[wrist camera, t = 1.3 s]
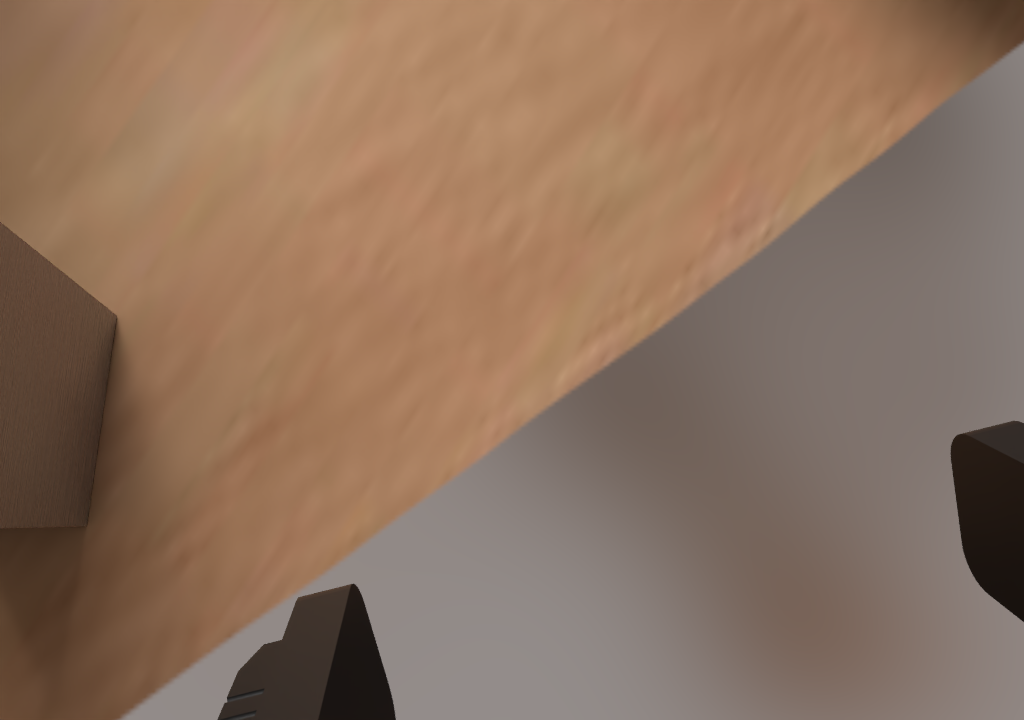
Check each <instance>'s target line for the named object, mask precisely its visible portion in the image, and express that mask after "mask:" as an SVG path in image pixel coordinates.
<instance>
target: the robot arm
mask: <svg viewBox="0 0 1024 720" xmlns="http://www.w3.org/2000/svg"><path fill="white" fill-rule="evenodd" d="M951 463H952V470H953V477H954V485H955V493H956V501H957V509H958V516H959V524H960V531H961V539H962V546H963V551H964V555H965V558H966V561H967V563H968V565H969V568H970V570H971V572H972V574H973V576H974V577H975V579H976V581H977V582H978V583H979V585H980V586H981V587H982V588H983V589H984V591H985V592H987V593H988V594H989V595H990V596H991V597H993V598H994V599H995V600H996V601H998V602H999V603H1000V604H1001V605H1003V606H1004V607H1005V608H1007V609H1008V610H1009V611H1010V612H1012V613H1013V614H1014V615H1016V616H1017V617H1018V618H1019V619H1021V620H1022V621H1023V622H1024V423H1022V422H1019V421H1011V422H1007V423H1003V424H999V425H995V426H991V427H987V428H983V429H980V430H975V431H971V432H967V433H963V434H959V435H957V436H956V437H955V438H954V440H953V442H952V445H951ZM227 701H228V702H227V703H225V704H224V706H223V708H222V710H221V713H220V715H219V717H218V720H396V718H395V711H394V704H393V700H392V695H391V691H390V688H389V684H388V681H387V677H386V674H385V670H384V667H383V664H382V661H381V657H380V654H379V650H378V647H377V644H376V640H375V637H374V634H373V631H372V627H371V624H370V620H369V617H368V614H367V611H366V607H365V604H364V601H363V598H362V595H361V593H360V591H359V589H358V587H357V586H356V585H355V584H350V585H346V586H343V587H339V588H334V589H331V590H326V591H322V592H318V593H314V594H311V595H307V596H302V597H299V598H298V599H297V601H296V603H295V606H294V609H293V611H292V614H291V617H290V620H289V622H288V625H287V628H286V631H285V634H284V636H283V639H282V640H280V641H276V642H272V643H268V644H264V645H263V646H262V647H261V648H260V649H259V650H258V651H257V652H256V653H255V654H254V655H253V657H252V658H251V659H250V660H249V661H248V662H247V663H246V664H245V665H244V666H243V667H242V668H241V669H240V670H239V671H238V673H237V675H236V678H235V680H234V683H233V685H232V687H231V689H230V692H229V694H228V697H227Z"/></svg>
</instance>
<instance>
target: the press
mask: <svg viewBox="0 0 1024 720" xmlns="http://www.w3.org/2000/svg"><path fill="white" fill-rule="evenodd" d="M116 318H117V316H116V315H115V314H114V313H113V312H111V311H110V310H109V309H108V308H106V307H105V306H104V305H103V304H101V303H100V302H99V301H98V300H96V299H95V298H94V297H93V296H91V295H90V294H89V293H88V292H87V291H85V290H84V289H83V288H82V287H80V286H79V285H78V284H77V283H75V282H74V281H73V280H72V279H70V278H69V277H68V276H67V275H65V274H64V273H63V272H62V271H60V270H59V269H58V268H57V267H55V266H54V265H53V264H52V263H50V262H49V261H48V260H47V259H45V258H44V257H43V256H42V255H41V254H39V253H38V252H37V251H36V250H34V249H33V248H32V247H31V246H29V245H28V244H27V243H26V242H24V241H23V240H22V239H21V238H19V237H18V236H17V235H16V234H14V233H13V232H12V231H11V230H9V229H8V228H7V227H6V226H4V225H3V224H2V223H1V222H0V528H37V527H80V526H87V521H88V514H89V507H90V500H91V493H92V486H93V479H94V472H95V465H96V458H97V451H98V444H99V437H100V430H101V423H102V416H103V409H104V402H105V395H106V388H107V381H108V374H109V367H110V360H111V353H112V346H113V339H114V332H115V325H116Z"/></svg>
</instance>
